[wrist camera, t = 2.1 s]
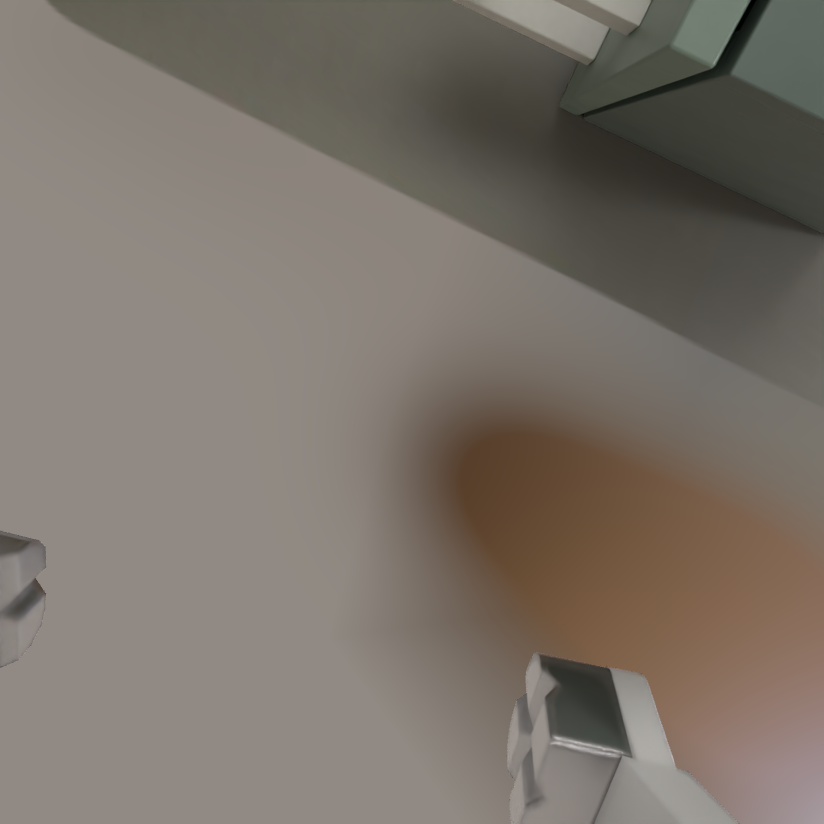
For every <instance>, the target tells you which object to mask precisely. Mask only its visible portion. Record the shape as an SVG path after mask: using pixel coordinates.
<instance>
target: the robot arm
mask: <svg viewBox="0 0 824 824" xmlns="http://www.w3.org/2000/svg"><path fill="white" fill-rule="evenodd" d="M45 568H46V551H45V546H44V545H43V544H42V543H41V542H40V541H39V540H36V539H31V538H27V537H23V536H19V535H15V534H11V533H7V532H3V531H0V667H3V666H6V665H7V664H10V663H13V662H15V661H17V660H19V658H20V657H21V656H22V655H23V654H24V653H25V652H26V650H27V649H28V648H29V647H30V646H31V644H32V642H33V640H34V638H35V636H36V634H37V632H38V630H39V628H40V627H41V624H42V620H43V616H44V611H45V600H46V599H45V598H46V593H45V592H44V591H43V589H42V587H41V586H40V584H39V583H38V581H37V580H36V578H35V577H36V576H37V575H38V574H39V573H41V571H43V570H44V569H45ZM525 676H526V688H527V693H526V694H525V695H523V696H522V697H520V698H519V699H517V702H516V705H515V709H514V712H513V715H512V719H511V724H510V730H509V737H508V749H507V750H508V751H507V765H508V772H509V773H510V775H511V776H512V778H513V779H514V780H515V784H514V787H513V790H512V793H511V796H510V799H509V806H510V823H511V824H739V823H738V822H737V821H736V820H735V819H734V818H733V817H732V816H731V815H730V814H729V813H728V812H727V811H726V810H725V809H724V808H723V807H722V806H721V805H720V804H719V803H718V802H717V801H716V800H715V798H713V796H712V795H711V794H710V793H709V792H708V791H707V790H706V789H705V788H704V787H703V786H702V785H701V784H700V783H699V782H698V781H697V780H696V779H695V778H694V777H693V776H692V775H691V774H690V773H689V772H688V771H685V770H681V769H677V768H676V766H675V763H674V760H673V757H672V754H671V750H670V748H669V745H668V741H667V739H666V735H665V732H664V729H663V726H662V723H661V720H660V718H659V714H658V711H657V708H656V706H655V702H654V699H653V696H652V693H651V690H650V687H649V684H648V681H647V679H646V678H645V677H644V676H643V675H642V674H641V673H637V672H632V671H627V670H622V669H616V668H611V667H605V668H604V667H600V666H596V665H591V664H587V663H582V662H577V661H573V660H568V659H564V658H559V657H555V656H550V655H546V654H541V653H536V652H535V653H534V655H533V657H532V658H531V660H530V663H529V666H528V669H527V672H526V675H525Z"/></svg>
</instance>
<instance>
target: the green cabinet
mask: <svg viewBox="0 0 824 824" xmlns="http://www.w3.org/2000/svg"><path fill="white" fill-rule="evenodd" d="M583 119H584V120H586V121H588V122H590V123H592V124H594V125H597V126H599V127H601V128H603V129H605V130H607V131H609V132H611V133H613V134H615V135H618V136H620V137H622V138H624V139H626V140H628V141H630V142H632V143H634V144H636V145H638V146H641V147H643V148H645V149H647V150H649V151H651V152H653V153H655V154H657V155H659V156H662V157H664V158H666V159H668V160H670V161H672V162H674V163H676V164H678V165H680V166H683V167H685V168H687V169H689V170H691V171H693V172H695V173H697V174H699V175H701V176H704V177H706V178H708V179H710V180H712V181H714V182H716V183H718V184H720V185H722V186H725V187H727V188H729V189H731V190H733V191H735V192H737V193H739V194H741V195H743V196H746V197H748V198H750V199H752V200H754V201H756V202H758V203H760V204H762V205H764V206H767V207H769V208H771V209H773V210H775V211H777V212H779V213H781V214H783V215H785V216H788V217H790V218H792V219H794V220H796V221H798V222H800V223H802V224H804V225H806V226H808V227H811V228H813V229H815V230H817V231H819V232H821V233H823V234H824V0H751V1H750V3H749V5H748V6H747V8H746V10H745V12H744V14H743V16H742V18H741V19H740V21H739V23H738V25H737V27H736V29H735V31H734V32H733V34H732V36H731V38H730V40H729V42H728V44H727V46H726V47H725V49H724V51H723V53H722V55H721V57H720V59H719V60H718V62H717V64H716V66H715V67H714V68H712V69H710V70H707V71H704V72H701V73H698V74H695V75H692V76H689V77H687V78H684V79H681V80H678V81H675V82H672V83H669V84H666V85H663V86H661V87H658V88H655V89H652V90H649V91H646V92H643V93H640V94H638V95H635V96H632V97H629V98H626V99H623V100H620V101H617V102H615V103H612V104H609V105H606V106H603V107H600V108H597V109H594V110H591V111H589V112H586V113H585V114H584V116H583Z"/></svg>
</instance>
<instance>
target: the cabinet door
mask: <svg viewBox="0 0 824 824" xmlns="http://www.w3.org/2000/svg"><path fill="white" fill-rule="evenodd" d="M452 1H454V2H456V3H458V4H460V5H462V6H465V7H467V8H469V9H471V10H473V11H475V12H477V13H479V14H481V15H483V16H485V17H487V18H489V19H491V20H494V21H496V22H498V23H500V24H502V25H504V26H506V27H508V28H510V29H512V30H514V31H516V32H518V33H521V34H523V35H525V36H527V37H529V38H531V39H533V40H535V41H537V42H539V43H541V44H543V45H545V46H547V47H550V48H552V49H554V50H556V51H558V52H560V53H562V54H564V55H566V56H568V57H570V58H572V59H574V60H577V61H579V63H578V65H577V67H576V69H575V71H574V74H573V76H572V78H571V80H570V82H569V84H568V86H567V88H566V91H565V93H564V95H563V97H562V99H561V101H560V103H559V107H560V108H562V109H564V110H566V111H568V112H570V113H572V114H574V115H580V114H583V113H586V112H589V111H591V110H594V109H597V108H600V107H603V106H606V105H609V104H612V103H615V102H617V101H620V100H623V99H626V98H629V97H632V96H635V95H638V94H640V93H643V92H646V91H649V90H652V89H655V88H658V87H661V86H663V85H666V84H669V83H672V82H675V81H678V80H681V79H684V78H687V77H689V76H692V75H695V74H698V73H701V72H704V71H707V70H710V69H712V68H714V67H715V66H716V64H717V62H718V60H719V59H720V57H721V55H722V53H723V51H724V49H725V47H726V46H727V44H728V42H729V40H730V38H731V36H732V34H733V32H734V31H735V29H736V27H737V25H738V23H739V21H740V19H741V18H742V16H743V14H744V12H745V10H746V8H747V6H748V5H749V3H750V1H751V0H452Z"/></svg>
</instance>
